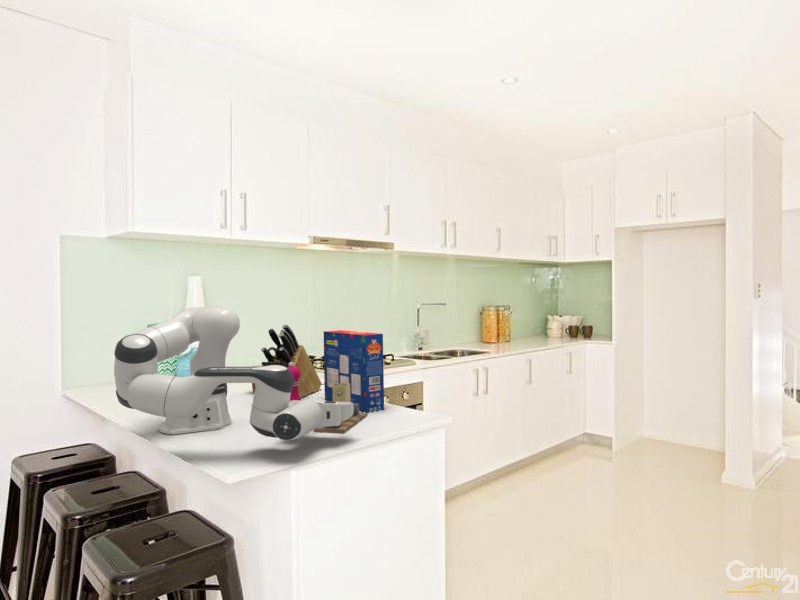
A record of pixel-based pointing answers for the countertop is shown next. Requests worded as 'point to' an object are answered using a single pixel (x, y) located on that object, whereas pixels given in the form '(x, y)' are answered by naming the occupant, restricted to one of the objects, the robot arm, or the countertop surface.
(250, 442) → the countertop surface
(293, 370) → the pepper mill
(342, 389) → the block
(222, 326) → the robot arm
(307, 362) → the knife block
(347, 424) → the shaft bench
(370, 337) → the pasta box
